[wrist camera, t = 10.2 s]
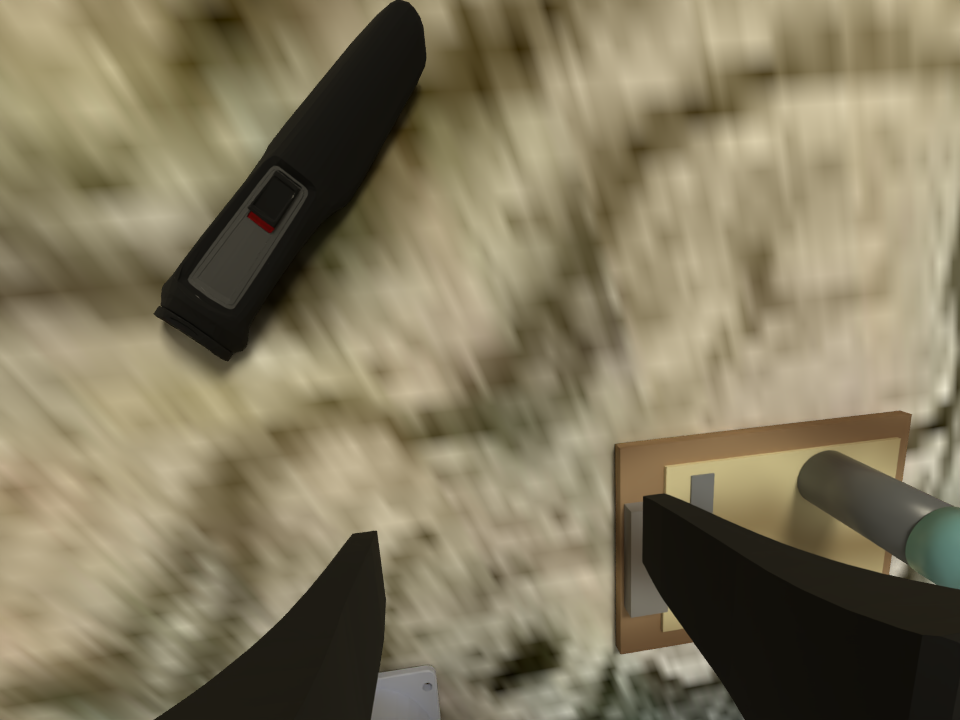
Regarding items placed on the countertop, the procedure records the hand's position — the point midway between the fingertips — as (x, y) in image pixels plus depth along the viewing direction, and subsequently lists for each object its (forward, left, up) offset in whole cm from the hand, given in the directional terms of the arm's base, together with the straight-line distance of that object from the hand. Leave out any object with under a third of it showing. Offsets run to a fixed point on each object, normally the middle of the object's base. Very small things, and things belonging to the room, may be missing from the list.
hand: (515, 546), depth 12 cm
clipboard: (-8, -15, -10) cm, 20 cm away
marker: (-5, -18, -9) cm, 21 cm away
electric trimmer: (+10, +7, -10) cm, 16 cm away
